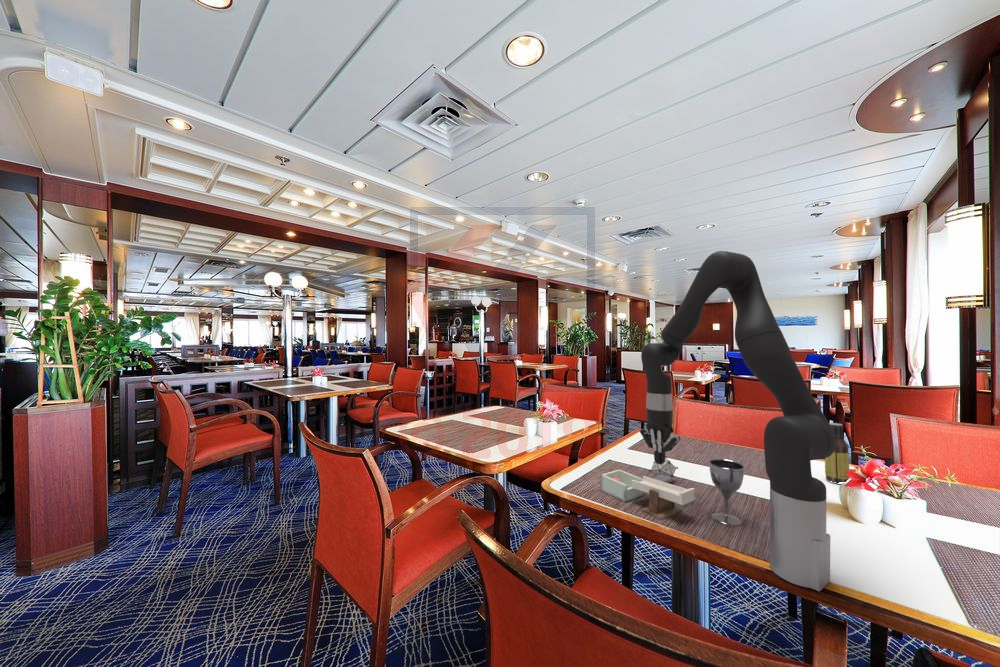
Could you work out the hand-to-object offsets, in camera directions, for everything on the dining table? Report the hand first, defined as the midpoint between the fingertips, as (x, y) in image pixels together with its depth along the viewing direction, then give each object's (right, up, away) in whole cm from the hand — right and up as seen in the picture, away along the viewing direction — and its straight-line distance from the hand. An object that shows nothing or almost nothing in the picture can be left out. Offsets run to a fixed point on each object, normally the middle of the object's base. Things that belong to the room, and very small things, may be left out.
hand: (659, 463), depth 114 cm
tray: (-11, -10, +3) cm, 15 cm away
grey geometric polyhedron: (+7, -11, +13) cm, 18 cm away
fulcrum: (-3, -10, -9) cm, 14 cm away
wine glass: (+13, -11, -13) cm, 21 cm away
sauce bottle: (+66, -11, +12) cm, 68 cm away
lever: (+1, -7, -7) cm, 9 cm away
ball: (-12, -8, +5) cm, 15 cm away
